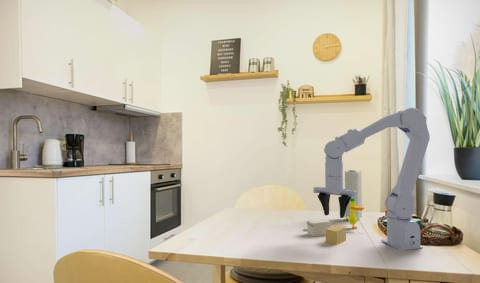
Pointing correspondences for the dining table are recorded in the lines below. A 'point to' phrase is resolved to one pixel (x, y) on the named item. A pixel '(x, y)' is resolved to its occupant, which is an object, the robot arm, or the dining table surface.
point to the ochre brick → (335, 234)
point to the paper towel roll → (354, 184)
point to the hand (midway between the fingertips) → (334, 216)
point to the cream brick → (317, 227)
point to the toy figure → (353, 213)
